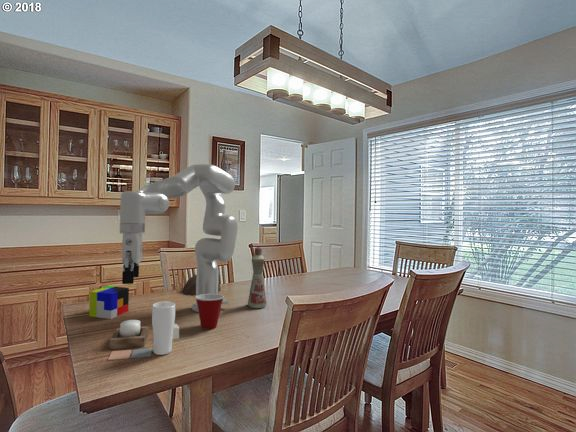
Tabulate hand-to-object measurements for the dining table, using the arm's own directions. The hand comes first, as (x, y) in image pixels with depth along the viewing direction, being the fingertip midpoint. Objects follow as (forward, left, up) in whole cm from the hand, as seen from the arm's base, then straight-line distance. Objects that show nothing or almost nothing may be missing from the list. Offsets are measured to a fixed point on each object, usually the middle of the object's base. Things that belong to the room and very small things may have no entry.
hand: (130, 280), depth 107 cm
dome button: (0, 0, -18) cm, 18 cm away
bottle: (-49, -31, -21) cm, 62 cm away
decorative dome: (-25, -62, -21) cm, 70 cm away
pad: (+1, +10, -21) cm, 23 cm away
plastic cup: (-26, -9, -21) cm, 35 cm away
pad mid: (-5, +10, -21) cm, 24 cm away
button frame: (0, 0, -21) cm, 21 cm away
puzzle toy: (+13, -31, -21) cm, 39 cm away
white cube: (-13, -1, -21) cm, 25 cm away
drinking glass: (-11, +10, -21) cm, 26 cm away
